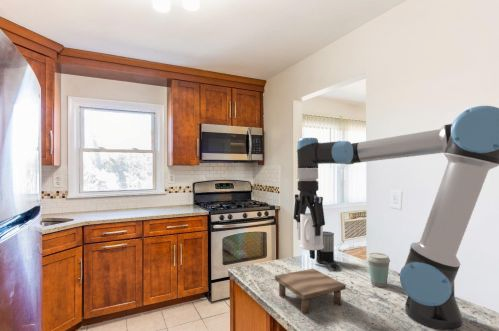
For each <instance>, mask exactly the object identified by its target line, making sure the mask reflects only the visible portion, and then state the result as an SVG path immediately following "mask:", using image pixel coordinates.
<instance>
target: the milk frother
mask: <svg viewBox="0 0 499 331" xmlns="http://www.w3.org/2000/svg"><path fill="white" fill-rule="evenodd" d="M334 235H335V233H334V232H331V231H327V230H326V231H325V230H323V246H324V248H323V249H321V250H308V251H309V258H310V259H312V260H315V262H316V263H319V264H320V265H321V264H322V265H328V266H330V267H332V268H333V269H337V268H339V269H340V265H339V264H338V263H337V262H335V252H334V251H335V248H334V246H335V245H334V244H335V240H334V239H335V238H334V237H335V236H334ZM315 258H316V259H315Z"/></svg>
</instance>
